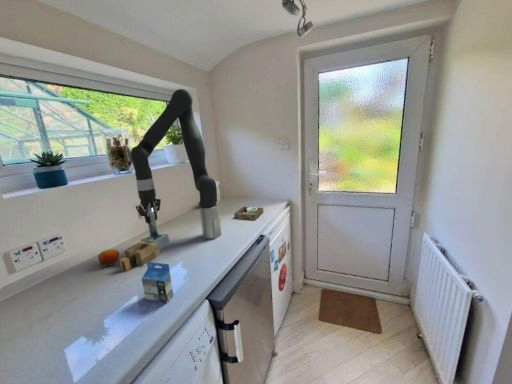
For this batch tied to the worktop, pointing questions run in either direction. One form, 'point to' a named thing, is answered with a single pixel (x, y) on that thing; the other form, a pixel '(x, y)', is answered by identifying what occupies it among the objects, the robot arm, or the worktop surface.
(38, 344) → the worktop surface
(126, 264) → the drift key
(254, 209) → the teacup
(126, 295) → the worktop surface
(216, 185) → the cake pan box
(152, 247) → the socket block
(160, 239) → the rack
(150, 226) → the peg
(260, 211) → the cup corral
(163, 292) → the blue retail carton
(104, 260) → the fruit
